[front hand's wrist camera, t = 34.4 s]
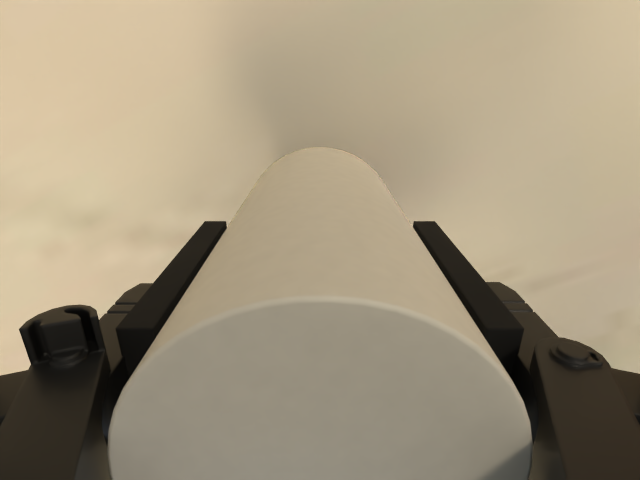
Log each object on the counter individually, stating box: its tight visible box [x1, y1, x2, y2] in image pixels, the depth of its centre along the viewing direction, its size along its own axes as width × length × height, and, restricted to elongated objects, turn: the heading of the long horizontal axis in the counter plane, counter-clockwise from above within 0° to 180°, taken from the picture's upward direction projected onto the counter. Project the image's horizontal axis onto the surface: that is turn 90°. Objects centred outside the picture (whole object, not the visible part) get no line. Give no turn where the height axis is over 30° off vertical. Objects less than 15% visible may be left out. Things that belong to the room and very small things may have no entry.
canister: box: [107, 147, 533, 480], centre depth 12 cm, size 7×7×13 cm
